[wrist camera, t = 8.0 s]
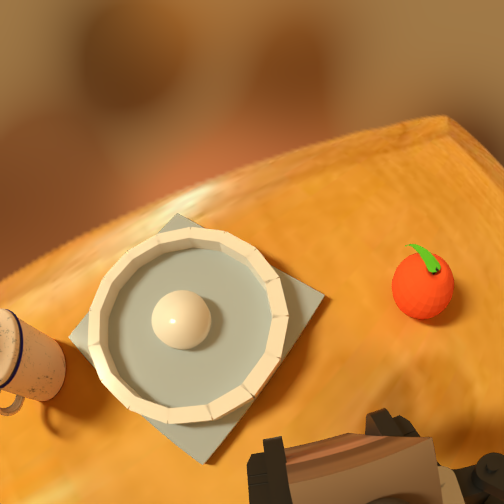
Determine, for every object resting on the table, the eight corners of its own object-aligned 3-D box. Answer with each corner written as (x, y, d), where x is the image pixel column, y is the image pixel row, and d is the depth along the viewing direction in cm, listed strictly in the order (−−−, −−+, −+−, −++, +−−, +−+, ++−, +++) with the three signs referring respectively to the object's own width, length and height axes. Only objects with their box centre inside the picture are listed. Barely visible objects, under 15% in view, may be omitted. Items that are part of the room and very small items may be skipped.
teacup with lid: (31, 328, 32) (-27, 288, 22) (76, 345, 31) (12, 306, 21) (10, 406, 26) (-56, 384, 16) (54, 435, 25) (-19, 423, 15)
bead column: (283, 448, 13) (290, 496, 4) (347, 432, 13) (457, 436, 4) (295, 504, 11) (316, 615, 2) (359, 487, 11) (469, 555, 2)
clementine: (368, 277, 33) (386, 242, 27) (413, 257, 33) (435, 221, 27) (402, 339, 28) (430, 314, 22) (446, 312, 29) (477, 284, 23)
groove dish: (179, 217, 39) (172, 202, 37) (323, 298, 32) (327, 286, 29) (73, 339, 31) (58, 331, 29) (205, 463, 24) (197, 467, 21)
